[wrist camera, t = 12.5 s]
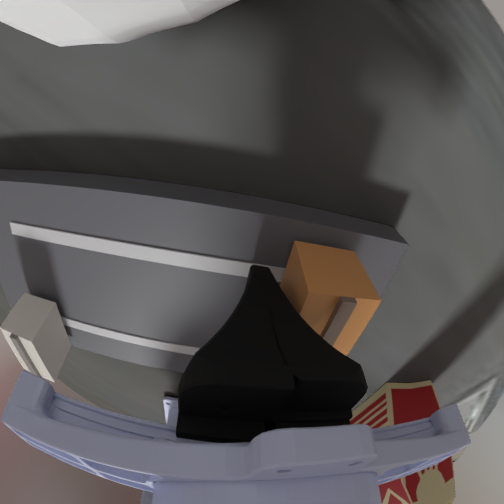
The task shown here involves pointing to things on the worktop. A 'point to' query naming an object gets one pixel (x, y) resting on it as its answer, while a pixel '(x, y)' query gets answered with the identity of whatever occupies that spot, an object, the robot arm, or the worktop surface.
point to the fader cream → (37, 336)
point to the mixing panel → (158, 256)
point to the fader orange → (330, 292)
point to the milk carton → (402, 411)
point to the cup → (102, 18)
